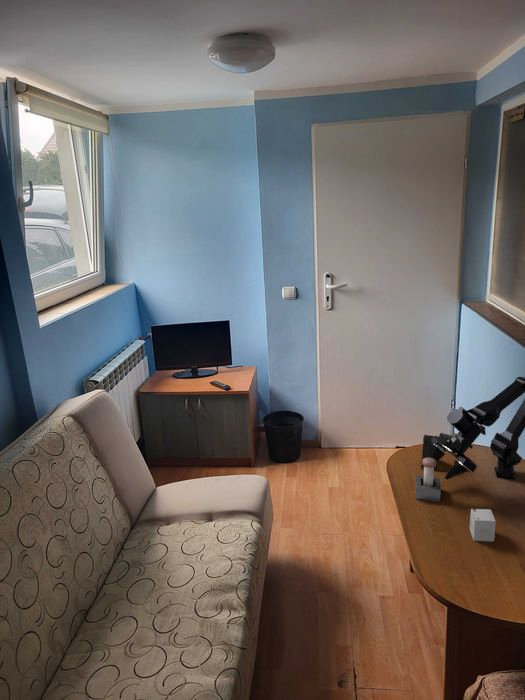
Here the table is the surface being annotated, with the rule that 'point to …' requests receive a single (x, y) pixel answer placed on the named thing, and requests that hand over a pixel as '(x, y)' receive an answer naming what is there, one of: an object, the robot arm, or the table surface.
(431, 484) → the pin
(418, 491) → the block
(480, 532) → the skincare box
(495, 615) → the table surface
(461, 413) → the robot arm
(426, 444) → the phone stand
